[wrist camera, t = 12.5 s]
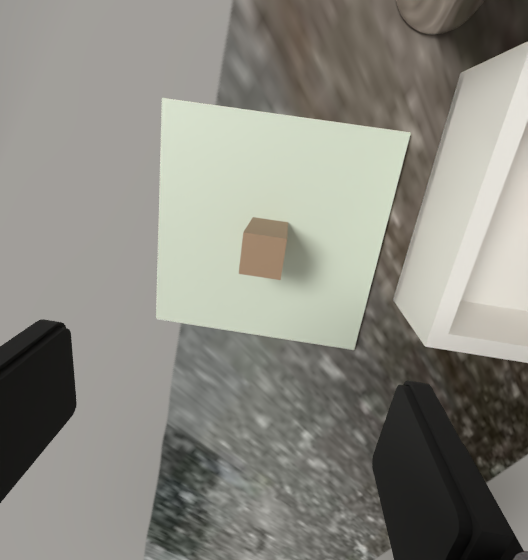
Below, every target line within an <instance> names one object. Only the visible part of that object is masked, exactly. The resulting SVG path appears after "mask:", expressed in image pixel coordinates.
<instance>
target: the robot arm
mask: <svg viewBox="0 0 528 560" xmlns="http://www.w3.org/2000/svg"><path fill="white" fill-rule="evenodd" d="M75 408H76V392H75V380H74V367H73V356H72V343H71V333H70V330H69V329H66V327H65V325H64V324H63V323H61V322H55V321H49V320H39V321H37V322H35V323H34V324H33V325H31V326H30V327H28V328H27V329H25V330H24V331H22V332H21V333H19V334H18V335H16V336H15V337H14V338H12V339H11V340H9V341H8V342H6V343H5V344H3V345H2V346H0V503H1V501H2V500H3V499H4V498H5V497H6V495H7V494H8V493H9V492H10V490H11V489H12V488H13V487H14V485H15V484H16V483H17V482H18V481H19V479H20V478H21V477H22V476H23V475H24V473H25V472H26V471H27V470H28V469H29V467H30V466H31V465H32V464H33V463H34V461H35V460H36V459H37V458H38V456H39V455H40V454H41V453H42V452H43V450H44V449H45V448H46V447H47V445H48V444H49V443H50V442H51V441H52V440H53V438H54V437H55V436H56V435H57V434H58V432H59V431H60V430H61V429H62V427H63V426H64V425H65V424H66V423H67V421H68V420H69V419H70V417H71V416H72V415H73V413H74V411H75ZM372 465H373V472H374V476H375V480H376V484H377V489H378V493H379V497H380V501H381V506H382V510H383V514H384V518H385V523H386V527H387V531H388V535H389V540H390V544H391V548H392V552H393V557H394V560H528V551H523V549H522V547H521V545H520V544H519V542H518V540H517V538H516V536H515V534H514V533H513V531H512V529H511V527H510V526H509V524H508V522H507V520H506V518H505V517H504V515H503V513H502V511H501V509H500V508H499V506H498V504H497V502H496V500H495V499H494V497H493V495H492V493H491V492H490V490H489V488H488V486H487V484H486V483H485V481H484V479H483V477H482V475H481V474H480V472H479V470H478V468H477V466H476V465H475V463H474V461H473V459H472V458H471V456H470V454H469V452H468V450H467V449H466V447H465V446H464V444H463V443H462V442H461V440H460V438H459V436H458V434H457V433H456V431H455V429H454V427H453V425H452V424H451V422H450V420H449V418H448V416H447V415H446V413H445V411H444V409H443V407H442V406H441V404H440V402H439V400H438V398H437V397H436V395H435V393H434V391H433V389H432V388H431V386H430V385H429V384H425V383H419V382H413V381H406V382H405V383H404V385H398V386H397V388H396V391H395V394H394V397H393V400H392V403H391V405H390V408H389V411H388V414H387V417H386V420H385V423H384V426H383V429H382V431H381V434H380V437H379V440H378V443H377V446H376V449H375V452H374V455H373V461H372Z"/></svg>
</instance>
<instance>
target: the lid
mask: <svg viewBox="0 0 528 560" xmlns="http://www.w3.org/2000/svg"><path fill="white" fill-rule="evenodd" d="M410 134H411V133H410V132H403V131H396V130H388V129H381V128H374V127H367V126H360V125H353V124H345V123H338V122H331V121H324V120H317V119H310V118H303V117H295V116H288V115H281V114H274V113H267V112H260V111H252V110H245V109H238V108H231V107H224V106H217V105H210V104H202V103H195V102H188V101H181V100H174V99H166V98H162V117H161V154H160V192H159V195H160V196H159V230H158V231H159V232H158V269H157V305H156V319H160V320H166V321H173V322H179V323H185V324H192V325H198V326H204V327H211V328H217V329H223V330H230V331H236V332H242V333H249V334H255V335H262V336H268V337H274V338H281V339H287V340H293V341H300V342H306V343H313V344H319V345H325V346H332V347H338V348H344V349H351V350H354V349H355V345H356V341H357V337H358V333H359V330H360V326H361V322H362V318H363V314H364V310H365V307H366V303H367V299H368V295H369V291H370V287H371V283H372V280H373V276H374V272H375V268H376V264H377V260H378V257H379V253H380V249H381V245H382V241H383V237H384V234H385V230H386V226H387V222H388V218H389V214H390V211H391V207H392V203H393V199H394V195H395V191H396V187H397V184H398V180H399V176H400V172H401V168H402V164H403V161H404V157H405V153H406V149H407V145H408V141H409V138H410Z"/></svg>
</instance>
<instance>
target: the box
mask: <svg viewBox="0 0 528 560" xmlns="http://www.w3.org/2000/svg"><path fill="white" fill-rule="evenodd" d="M393 301H394V302H395V303H396V305H397V306H398V308H399V309H400V311H401V312H402V314H403V315H404V317H405V318H406V319H407V321H408V322H409V324H410V325H411V327H412V328H413V330H414V331H415V333H416V334H417V336H418V337H419V338H420V340H421V341H422V343H423V344H424V346H425V347H432V348H438V349H444V350H450V351H457V352H463V353H469V354H475V355H481V356H488V357H494V358H500V359H506V360H513V361H519V362H525V363H528V41H527V42H525V43H523V44H521V45H519V46H517V47H515V48H512V49H510V50H508V51H506V52H504V53H502V54H500V55H498V56H495V57H493V58H491V59H489V60H487V61H485V62H483V63H481V64H478V65H476V66H474V67H472V68H470V69H468V70H466V71H463V72H461V73H460V76H459V80H458V83H457V87H456V90H455V93H454V97H453V100H452V103H451V107H450V110H449V113H448V117H447V120H446V124H445V127H444V130H443V134H442V137H441V140H440V144H439V147H438V150H437V154H436V157H435V161H434V164H433V167H432V171H431V174H430V177H429V181H428V184H427V188H426V191H425V194H424V198H423V201H422V204H421V208H420V211H419V214H418V218H417V221H416V225H415V228H414V231H413V235H412V238H411V241H410V245H409V248H408V251H407V255H406V258H405V262H404V265H403V268H402V272H401V275H400V278H399V282H398V285H397V288H396V292H395V295H394V299H393Z"/></svg>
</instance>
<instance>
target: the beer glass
mask: <svg viewBox="0 0 528 560" xmlns="http://www.w3.org/2000/svg"><path fill="white" fill-rule="evenodd" d="M483 1H484V0H396V3H397V7H398V10H399V12H400V14H401V16H402V18H403V19H404V20H405V22H406V23H407V24H408V25H409V26H410V27H412V28H413V29H415V30H417V31H419V32H421V33H425V34H442V33H446V32H449V31H451V30H453V29H455V28H457V27H459V26H460V25H462V24H463V23H464V22H466V21H467V20H468V19H469V18H470V17H471V16H472V15H473V14H474V13H475V12H476V10H477V9H478V8H479V7H480V5H481V4H482V3H483Z"/></svg>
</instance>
